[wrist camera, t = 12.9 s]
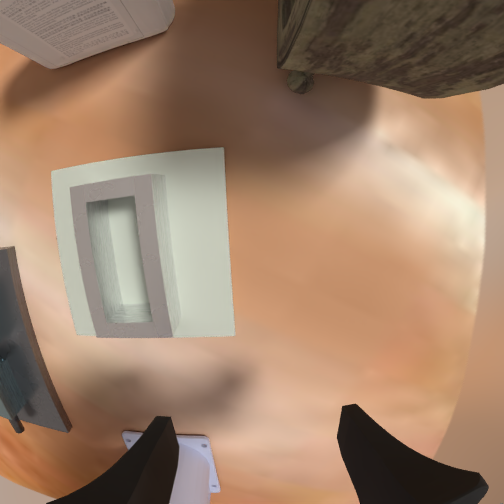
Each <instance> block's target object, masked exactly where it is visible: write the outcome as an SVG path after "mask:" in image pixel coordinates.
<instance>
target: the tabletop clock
mask: <svg viewBox="0 0 504 504" xmlns="http://www.w3.org/2000/svg"><path fill="white" fill-rule="evenodd" d="M277 68H279V69H287V70H294V71H292V72H290V73H289V76H288V78H287V83H288V87H289V88H290V89H291V90H292V91H293V92H296V93H300V94H304V93H306V92H308V91H310V90H311V89H312V87H313V84H314V80H313V76H312V75H313V74H315V73H317V74H324V75H330V76H335V77H341V78H346V79H351V80H356V81H360V82H365V83H369V84H373V85H378V86H382V87H386V88H389V89H393V90H397V91H400V92H404V93H407V94H411V95H414V96H417V97H421V98H445V97H450V96H455V95H460V94H465V93H470V92H475V91H480V90H486V89H490V88H493V87H495V86H498V85H501V84H504V0H278V27H277Z"/></svg>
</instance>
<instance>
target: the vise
mask: <svg viewBox="0 0 504 504" xmlns="http://www.w3.org/2000/svg"><path fill="white" fill-rule="evenodd" d="M0 416H1V417H4V418H7V419H9V421H10V423H11V425H12V426H13V428H14V430H15V431H16V433H22V432H23V431H24V427H23V425H22V423H21V421H20V420H23V421H26V422H29V423H33V424H36V425H39V426H43V427H47V428H50V429H54V430H58V431H62V432H66V433H69V432H70V430H71V428H72V425H71V423H70V421H69V419H68V417H67V415H66V413H65V411H64V409H63V406H62V404H61V402H60V400H59V398H58V395H57V393H56V391H55V388H54V386H53V384H52V381H51V379H50V376H49V374H48V371H47V368H46V366H45V363H44V360H43V357H42V355H41V352H40V349H39V346H38V343H37V340H36V337H35V334H34V330H33V327H32V324H31V320H30V317H29V313H28V309H27V305H26V301H25V297H24V293H23V289H22V285H21V280H20V275H19V270H18V265H17V259H16V254H15V247H14V246H12V247H3V248H0ZM19 419H20V420H19Z"/></svg>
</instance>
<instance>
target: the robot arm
mask: <svg viewBox="0 0 504 504" xmlns="http://www.w3.org/2000/svg"><path fill="white" fill-rule="evenodd" d="M122 437H123V440H124V442H125V444H126V446H127V448H128V451H127V452H126V453H125V454H124V455H123V456H122V457H121V458H120V459H119V460H118V461H117V462H116V463H115V464H114V465H113V466H112V467H111V468H110V469H108V470H107V471H106V472H105V473H103V474H102V475H101V476H99V477H98V478H97V479H95V480H94V481H92V482H91V483H89V484H88V485H86V486H84V487H82V488H81V489H79V490H77V491H75V492H73V493H71V494H69V495H67V496H64V497H62V498H59V499H56V500H54V501H51V502H48V503H46V504H210V495H211V493H218V492H220V484H219V480H218V476H217V472H216V468H215V463H214V459H213V454H212V450H211V445H210V440H209V438H208V437H206V436H186V435H176V434H175V430H174V427H173V423H172V420H171V417H165V416H156V417H155V418H154V420H153V421H152V422H151V424H150V425H149V426H148V428H147V429H146V430H145V432H144V433H141V432H132V431H123V433H122ZM337 439H338V444H339V448H340V452H341V455H342V458H343V461H344V463H345V466H346V468H347V471H348V473H349V475H350V478H351V480H352V483H353V485H354V488H355V490H356V493H357V495H358V498H359V502H360V504H478V503H479V501H480V500H481V499H482V498H483V497H484V495H485V494H486V493H487V491H488V488H489V487H488V485H487V483H486V482H485V480H484V479H483V477H482V476H481V475H480V474H479V473H477V472H472V471H467V470H462V469H458V468H454V467H451V466H448V465H445V464H442V463H439V462H437V461H435V460H432V459H430V458H428V457H426V456H424V455H422V454H420V453H418V452H416V451H414V450H413V449H411V448H409V447H407V446H406V445H404V444H403V443H402V442H400V441H399V440H397V439H396V438H395V437H393V436H392V435H391V434H389V433H388V432H387V431H386V430H385V429H383V428H382V427H381V426H380V425H379V424H377V423H376V422H375V421H374V420H373V419H372V418H371V417H370V416H369V415H368V414H366V413H365V412H364V411H363V410H362V409H361V408H360V407H359V406H358V405H357V404H351V405H346V406H342V411H341V417H340V423H339V428H338V434H337ZM204 444H206V445H204ZM500 504H503V503H500Z"/></svg>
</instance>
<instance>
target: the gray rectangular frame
mask: <svg viewBox="0 0 504 504" xmlns="http://www.w3.org/2000/svg"><path fill="white" fill-rule="evenodd" d="M134 195H135V204H136V214H137V223H138V231H139V239H140V247H141V254H142V261H143V267H144V274H145V280H146V286H147V292H148V297H149V303H142V304H123V300H122V295H121V290H120V285H119V280H118V274H117V268H116V262H115V256H114V250H113V243H112V236H111V228H110V220H109V211H108V202H107V199H113V198H119V197H127V196H134ZM70 198H71V208H72V217H73V225H74V232H75V239H76V246H77V252H78V258H79V263H80V269H81V274H82V279H83V284H84V288H85V293H86V297H87V302H88V306H89V310H90V314H91V318H92V322H93V326H94V329H95V333H96V337H100V338H168V337H173V336H174V334H175V331H176V329H177V327H178V324H179V322H180V319H181V317H182V314H181V307H180V301H179V294H178V288H177V281H176V273H175V266H174V258H173V250H172V242H171V233H170V224H169V214H168V203H167V192H166V180H165V175H160V174H145V175H138V176H131V177H125V178H118V179H112V180H106V181H100V182H95V183H89V184H84V185H79V186H74V187H70Z"/></svg>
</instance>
